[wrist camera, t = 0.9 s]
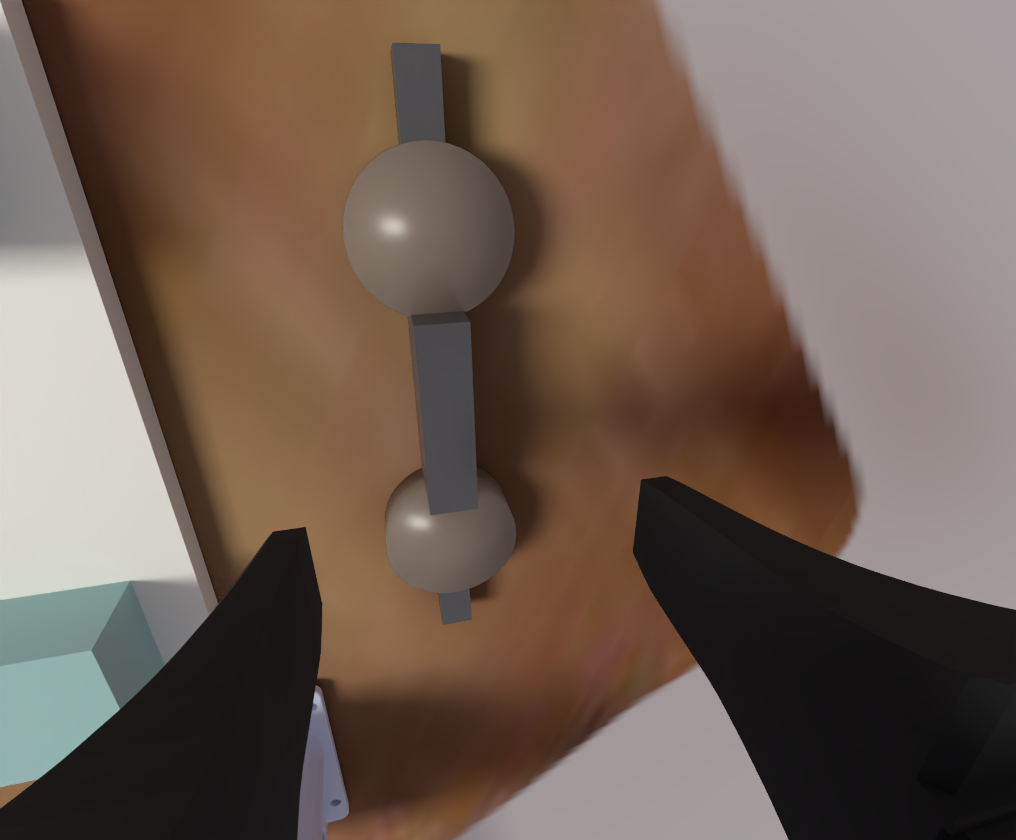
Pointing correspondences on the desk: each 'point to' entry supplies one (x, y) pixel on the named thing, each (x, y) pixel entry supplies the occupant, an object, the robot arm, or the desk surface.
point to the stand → (74, 456)
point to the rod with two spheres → (436, 328)
